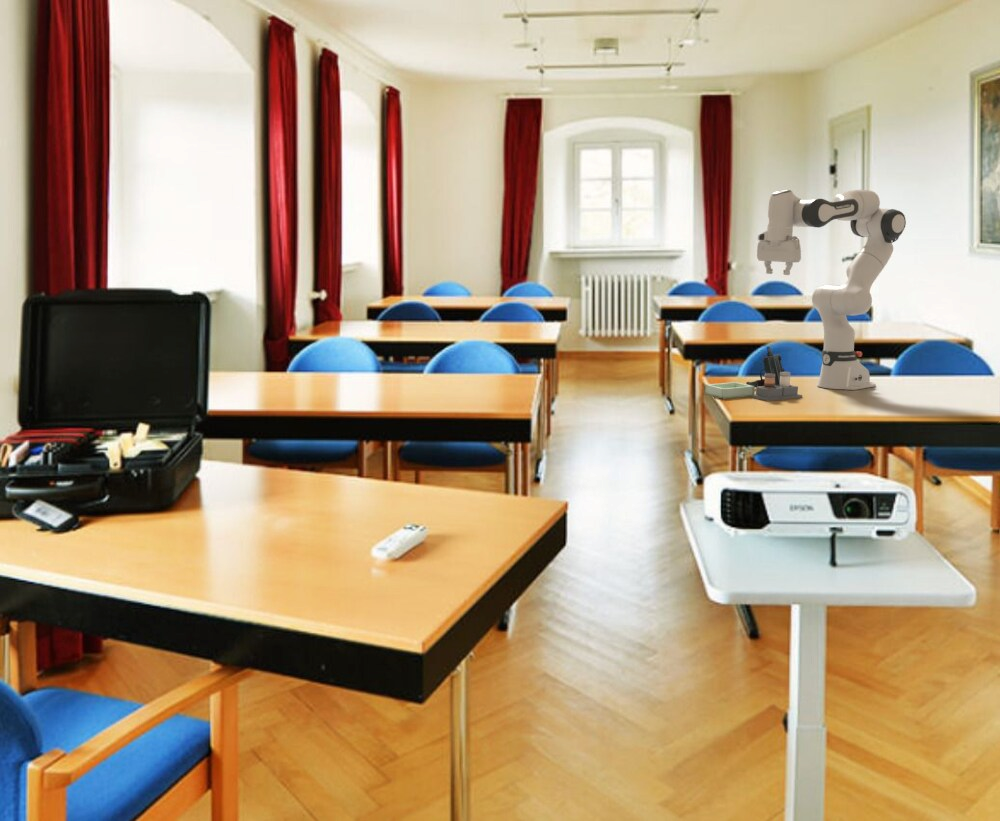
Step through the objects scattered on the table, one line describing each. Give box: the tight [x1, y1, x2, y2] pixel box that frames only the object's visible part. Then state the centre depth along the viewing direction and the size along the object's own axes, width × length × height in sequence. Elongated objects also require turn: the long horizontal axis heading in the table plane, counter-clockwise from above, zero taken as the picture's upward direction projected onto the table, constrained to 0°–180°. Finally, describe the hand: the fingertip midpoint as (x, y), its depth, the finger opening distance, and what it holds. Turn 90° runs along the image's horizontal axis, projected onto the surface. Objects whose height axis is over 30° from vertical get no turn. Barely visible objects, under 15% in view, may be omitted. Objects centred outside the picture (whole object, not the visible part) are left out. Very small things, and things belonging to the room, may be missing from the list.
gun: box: [745, 346, 786, 389], centre depth 387 cm, size 3×17×15 cm
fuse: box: [780, 371, 791, 387], centre depth 372 cm, size 4×4×8 cm
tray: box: [704, 381, 756, 400], centre depth 377 cm, size 14×11×4 cm
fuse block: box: [750, 384, 803, 402], centre depth 371 cm, size 16×9×4 cm, turn 115°
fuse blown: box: [764, 372, 775, 389], centre depth 369 cm, size 4×4×8 cm
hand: (777, 274), depth 371 cm, fingers open, 8 cm apart
